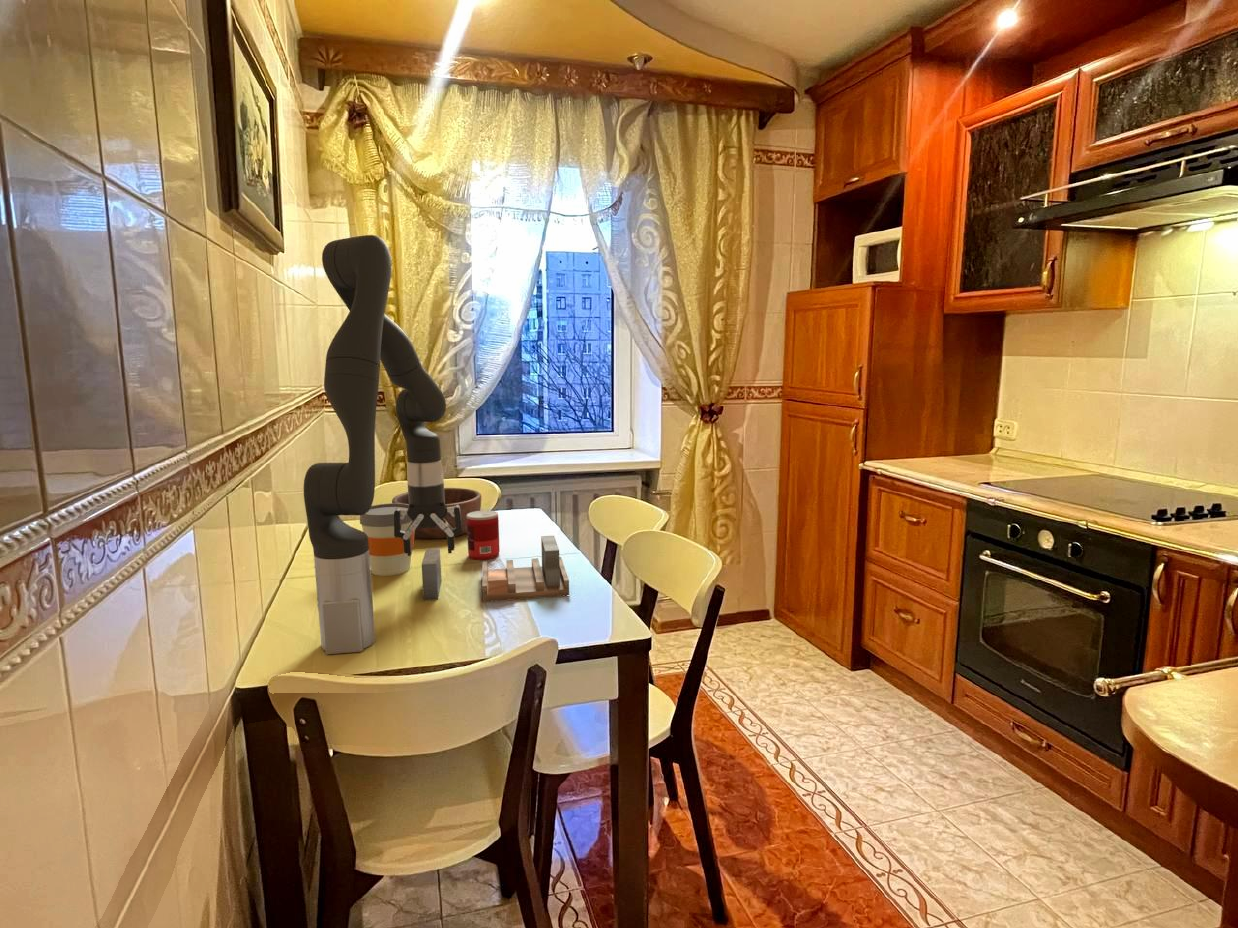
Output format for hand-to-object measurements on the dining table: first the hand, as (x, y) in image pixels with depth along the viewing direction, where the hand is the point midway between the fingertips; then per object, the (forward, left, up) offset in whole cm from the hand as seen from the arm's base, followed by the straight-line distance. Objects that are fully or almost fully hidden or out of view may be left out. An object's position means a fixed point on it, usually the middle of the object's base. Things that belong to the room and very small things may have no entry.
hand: (430, 553), depth 157 cm
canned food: (+23, -11, -9) cm, 27 cm away
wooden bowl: (+51, +2, -9) cm, 52 cm away
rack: (-2, -20, -8) cm, 22 cm away
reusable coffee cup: (+16, +11, -9) cm, 21 cm away
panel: (-1, 0, -8) cm, 8 cm away
